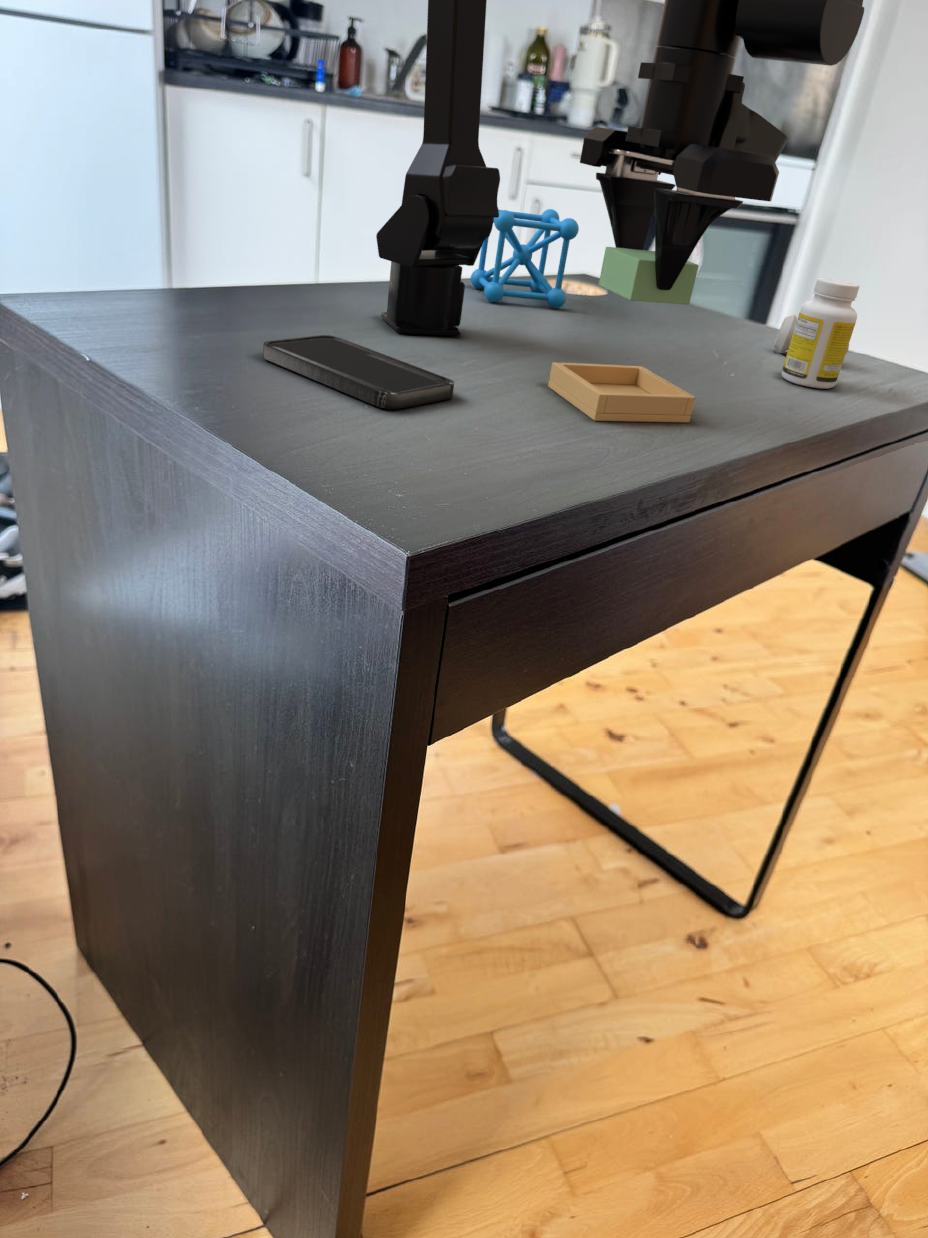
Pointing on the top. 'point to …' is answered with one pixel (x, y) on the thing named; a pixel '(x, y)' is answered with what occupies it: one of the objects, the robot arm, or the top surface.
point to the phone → (359, 371)
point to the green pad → (643, 277)
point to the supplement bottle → (822, 335)
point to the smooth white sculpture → (787, 334)
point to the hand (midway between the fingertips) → (645, 281)
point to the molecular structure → (526, 257)
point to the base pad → (620, 393)
